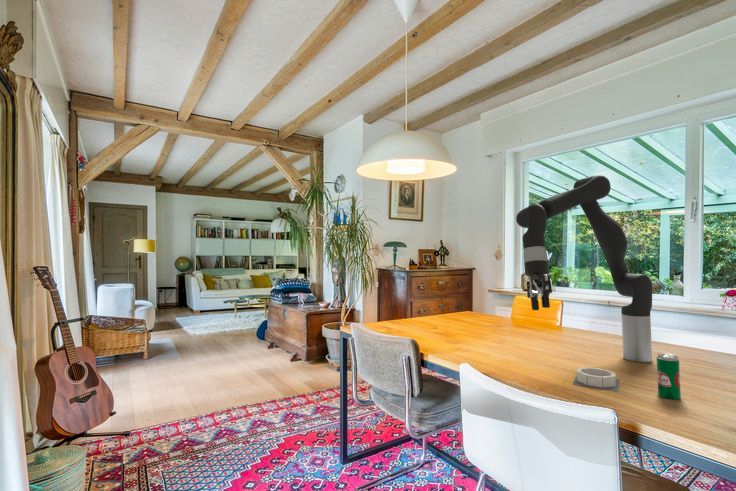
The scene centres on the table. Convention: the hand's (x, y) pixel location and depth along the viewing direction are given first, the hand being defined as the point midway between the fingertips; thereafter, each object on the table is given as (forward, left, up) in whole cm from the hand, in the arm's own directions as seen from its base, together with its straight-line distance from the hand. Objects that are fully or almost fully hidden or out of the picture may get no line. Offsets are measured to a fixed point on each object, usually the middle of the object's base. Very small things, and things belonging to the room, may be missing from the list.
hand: (540, 308), depth 126 cm
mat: (-5, +15, -23) cm, 28 cm away
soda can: (-1, +33, -23) cm, 40 cm away
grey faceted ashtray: (-5, +15, -23) cm, 28 cm away
